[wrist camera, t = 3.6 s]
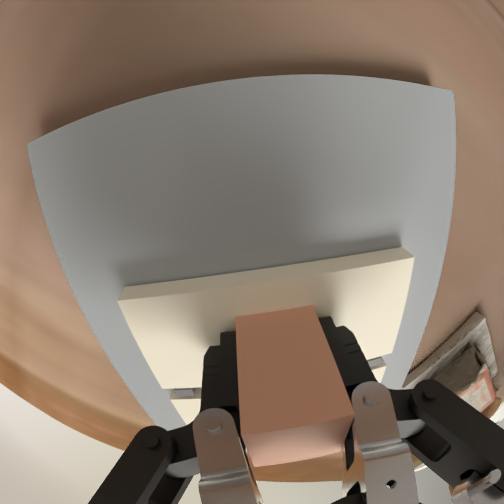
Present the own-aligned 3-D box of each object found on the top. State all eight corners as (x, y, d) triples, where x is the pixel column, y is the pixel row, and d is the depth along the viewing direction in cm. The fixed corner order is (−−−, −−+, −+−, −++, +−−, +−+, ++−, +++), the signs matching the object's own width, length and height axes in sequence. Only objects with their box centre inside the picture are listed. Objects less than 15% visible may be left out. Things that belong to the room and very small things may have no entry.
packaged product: (510, 388, 18) (450, 439, 21) (493, 364, 22) (437, 413, 25) (508, 341, 12) (406, 429, 15) (474, 304, 16) (385, 384, 19)
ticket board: (433, 91, 9) (468, 92, 7) (385, 394, 19) (395, 416, 17) (46, 139, 9) (11, 147, 7) (172, 427, 19) (169, 451, 16)
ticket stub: (402, 246, 11) (490, 334, 5) (384, 340, 13) (431, 427, 8) (124, 286, 11) (69, 404, 5) (165, 374, 13) (149, 475, 8)
